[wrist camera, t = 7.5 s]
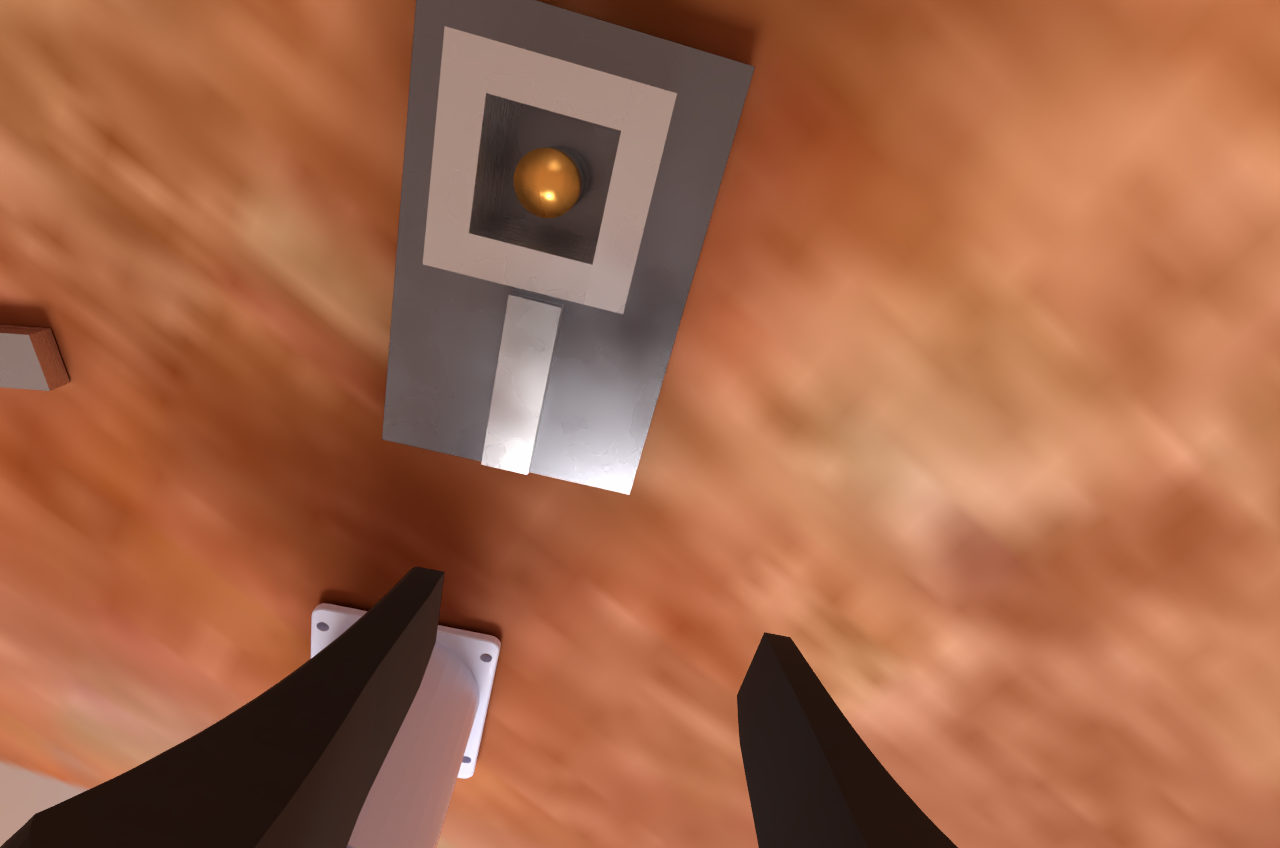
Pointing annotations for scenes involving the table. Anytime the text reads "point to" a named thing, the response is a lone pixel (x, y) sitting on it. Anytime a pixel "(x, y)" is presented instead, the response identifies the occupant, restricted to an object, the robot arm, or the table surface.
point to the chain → (30, 359)
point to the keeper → (570, 200)
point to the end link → (482, 163)
